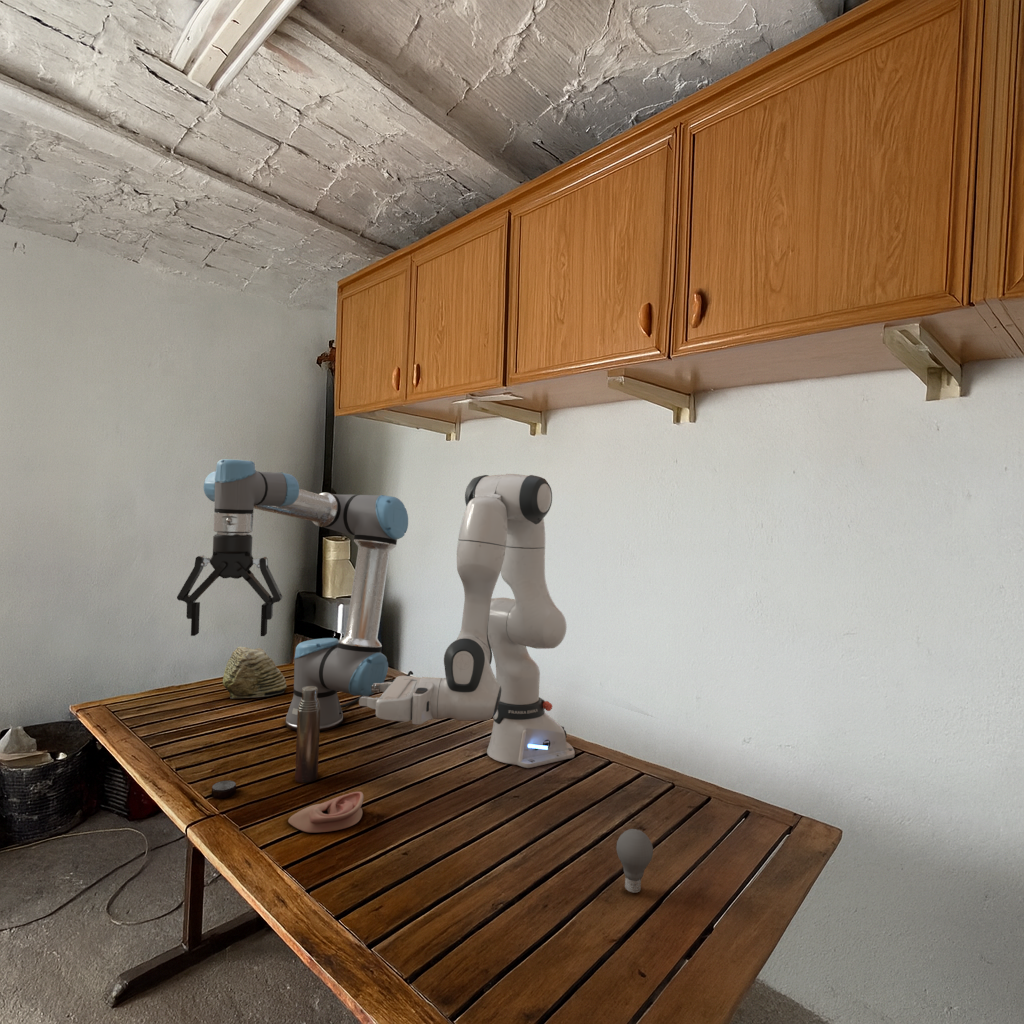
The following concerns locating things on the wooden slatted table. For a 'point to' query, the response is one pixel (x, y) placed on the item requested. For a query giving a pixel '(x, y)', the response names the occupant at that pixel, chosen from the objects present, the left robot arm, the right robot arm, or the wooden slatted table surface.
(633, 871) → the light bulb
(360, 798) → the anatomical model
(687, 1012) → the wooden slatted table surface
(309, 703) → the bottle
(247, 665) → the fossil
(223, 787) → the cap
